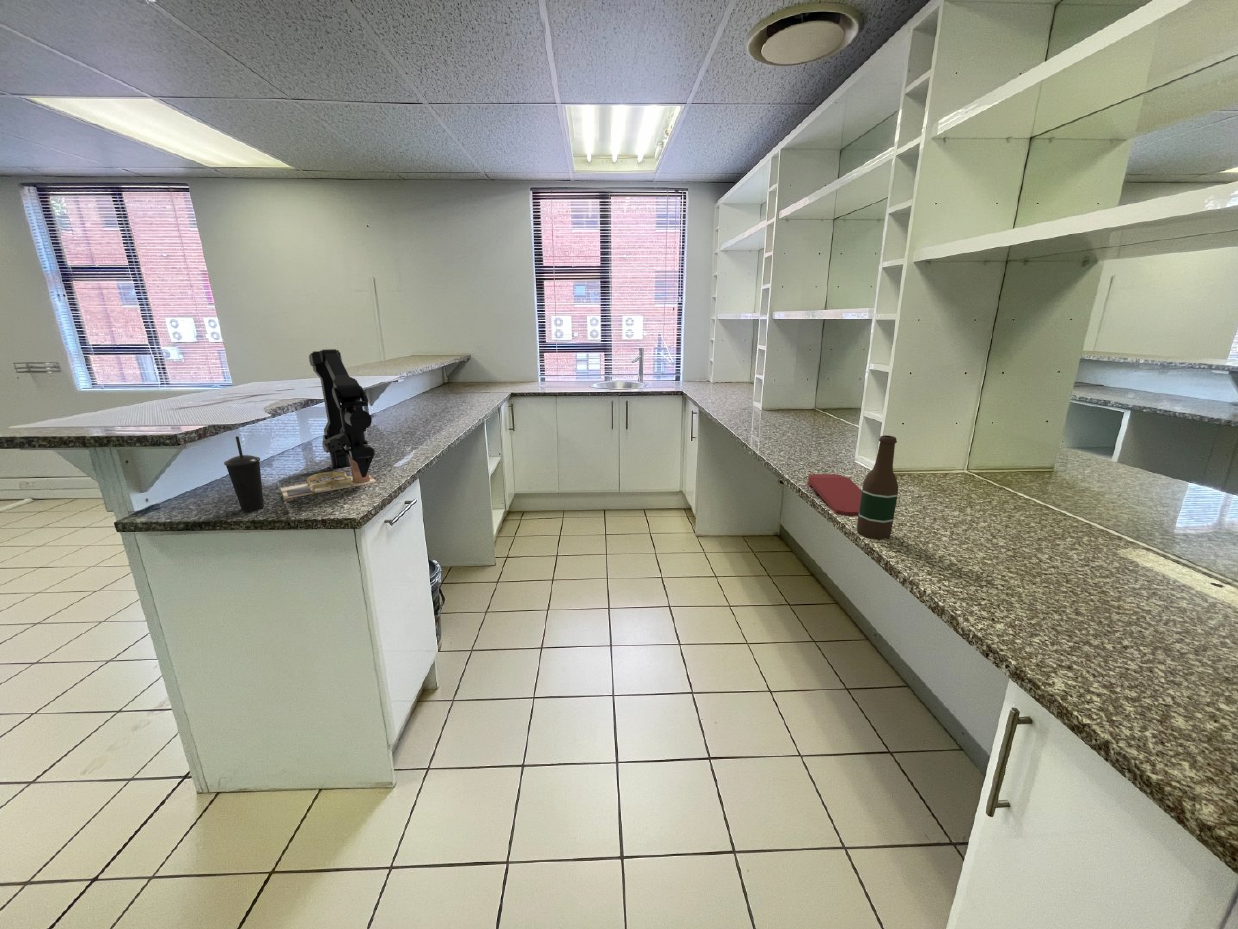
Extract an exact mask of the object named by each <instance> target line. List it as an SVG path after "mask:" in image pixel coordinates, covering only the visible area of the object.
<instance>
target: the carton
mask: <svg viewBox="0 0 1238 929" xmlns="http://www.w3.org/2000/svg"><path fill="white" fill-rule="evenodd" d="M808 485H809V486H808ZM807 486H808V487H809V488H813V489H814V490H815V491H816V493H817V494H818V495H819V496H820V497H821V499H822V500H823V501H824V502H825V503H826V504H827V506H828V507H829V508H830V509H831V511H832V512H833V513H834V514H839V515H844V516H858V514H859V507H860V501H861V494H862V489H861V488H860V487H859V486H858V485H857V483H855V482H854V481H852V479H851V478H850V477H847V476H843V475H841V474H836V473H828V474H827V473H826V474H825V473H823V474H822V473H817V474H815V473H809V474H808V478H807Z"/></svg>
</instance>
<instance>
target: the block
mask: <svg viewBox="0 0 1238 929" xmlns="http://www.w3.org/2000/svg"><path fill="white" fill-rule="evenodd" d="M350 465H351V467H350V471H351V476H352V478H353V481H354V482H355V483H362V482H367V481H370V478H369V475H370V474H369V473H370V472H369V470H368V472H367V475H366V477H363V478H362V476H361V474H360V471H359V468H358V465H357V462H355V461H354V460H352V459H350Z"/></svg>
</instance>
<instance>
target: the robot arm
mask: <svg viewBox="0 0 1238 929" xmlns="http://www.w3.org/2000/svg"><path fill="white" fill-rule="evenodd" d="M308 360H309V364H310V366H311V367H312V370H313V372H314V374H316V376H317V377H318V378H319V379H320V384H321V390H322V398H323V401H324V408H325V414H326V418H327V422H326V425H325V426H324V428H323V434H324V435H322V444H321V445H322V449H323V452H324V453H326V454H328V453H329V456H330V457H329V458H330V463H331V464H329V467H330V469H331V470H337V469H344V468H349V467H350V468H351V465H350V459H352V460H354V461H355V462H357V465H358V468H359V471H360V474H361V476H362V478H363V477H366V475H367V472H368V471H369V470H370V467H371V464H372V461H373V459H374V457H375V456H376V451H375V448H373V447H372V446H370V445H369V442H368V440H367V438H366V433H365V432H367V429H368V428H369V427H370V426H371V425H372V421H373V419H372V416H371V414H370V413H369V412H367V411H366V410H364V408H363V407H369V404H368V403H369V399H368V397H367V394H366V391H365V390H364V389H363V386H361V385H360V384H359V382H358V380H357V379H356V378H354V377H352V376H350V375H349V372H348V371H347V369H346V367H345V364H344V363H343V359H342V355H341V352H340V350H338V349H336V348H335V349H334V348H333V349H330V348H329V349H328V348H327V349H326V348H325V349H323V348H322V350H319V351H318V350H317V351H316V350H315V351H312V352H311V353H310V354H309V355H308Z"/></svg>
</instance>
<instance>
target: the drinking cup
mask: <svg viewBox="0 0 1238 929" xmlns="http://www.w3.org/2000/svg"><path fill="white" fill-rule="evenodd" d="M235 441H236V445H237V450H238V454H239V455H237V456H233V457H231V458H229V459H228V460H226V461H224V462H223V465H224V466H226V470H227V473H228V475H229V476H228V477H229V478H230V481H231V484H232V487H233V490H234V492H235V495H236V497H237V500H238V503H239V506H240V509H241V511H242V512H243V513H244V512H245V513H249V512H257V511H259V509H260V510H261V509H263V508H265V502H264V494H263V493H264V492H263V484H262V483H263V482H262V474H261V462H260V461H261V457H259V456H255V455H249V454H243V450H242V445H241V441H240V437H239V436H235Z"/></svg>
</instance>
